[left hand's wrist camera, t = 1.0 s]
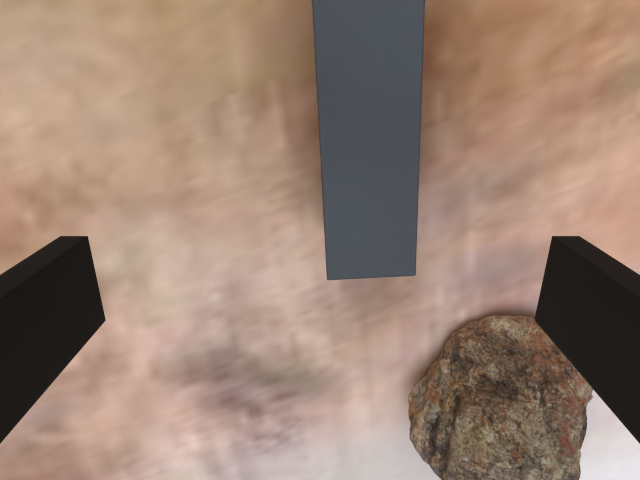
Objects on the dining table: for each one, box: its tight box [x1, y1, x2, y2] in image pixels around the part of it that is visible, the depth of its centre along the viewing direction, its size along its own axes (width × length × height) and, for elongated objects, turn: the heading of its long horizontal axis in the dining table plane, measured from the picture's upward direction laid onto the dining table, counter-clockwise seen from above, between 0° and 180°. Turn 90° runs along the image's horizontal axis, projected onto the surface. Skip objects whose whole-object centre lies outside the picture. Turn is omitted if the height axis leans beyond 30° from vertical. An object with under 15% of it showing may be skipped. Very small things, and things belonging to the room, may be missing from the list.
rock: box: [408, 315, 593, 480], centre depth 29 cm, size 14×9×10 cm
